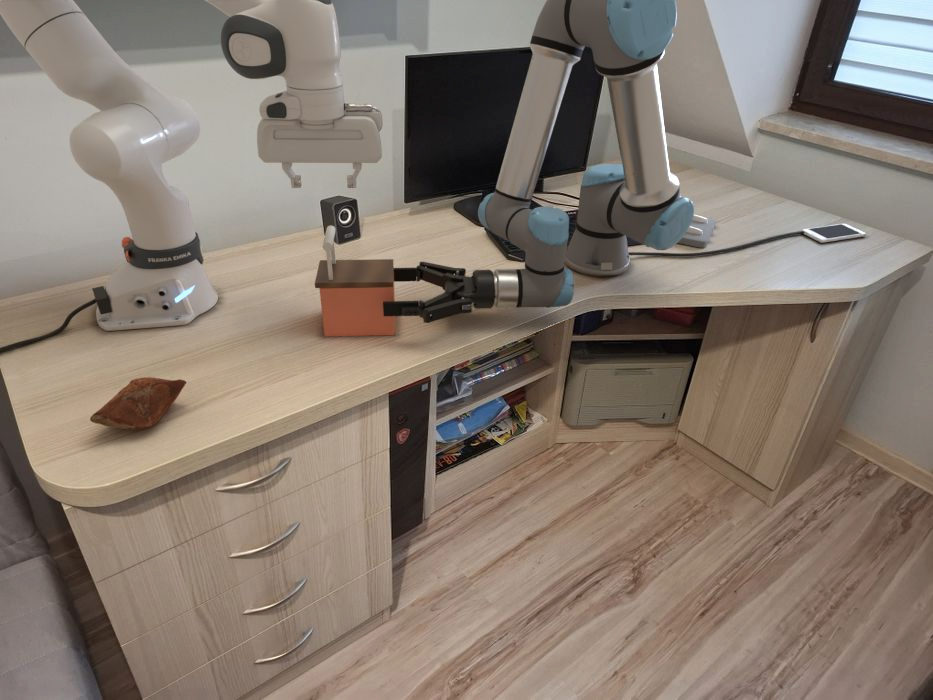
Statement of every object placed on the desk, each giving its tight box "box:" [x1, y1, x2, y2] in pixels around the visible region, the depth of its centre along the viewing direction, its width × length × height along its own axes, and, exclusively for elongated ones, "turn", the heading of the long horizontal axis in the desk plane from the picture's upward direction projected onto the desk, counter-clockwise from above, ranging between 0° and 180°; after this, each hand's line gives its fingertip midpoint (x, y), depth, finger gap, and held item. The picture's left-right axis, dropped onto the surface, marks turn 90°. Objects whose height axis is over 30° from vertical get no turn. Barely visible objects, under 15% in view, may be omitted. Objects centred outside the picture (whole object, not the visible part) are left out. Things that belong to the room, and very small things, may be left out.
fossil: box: [89, 376, 188, 431], centre depth 97 cm, size 13×8×10 cm
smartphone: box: [801, 223, 866, 244], centre depth 171 cm, size 7×16×1 cm, turn 111°
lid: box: [314, 224, 394, 289], centre depth 118 cm, size 14×10×9 cm
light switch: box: [677, 214, 716, 249], centre depth 169 cm, size 18×3×15 cm
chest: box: [319, 264, 396, 338], centre depth 123 cm, size 13×10×10 cm
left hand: (324, 187), depth 110 cm, fingers open, 8 cm apart
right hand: (383, 291), depth 122 cm, fingers open, 13 cm apart
